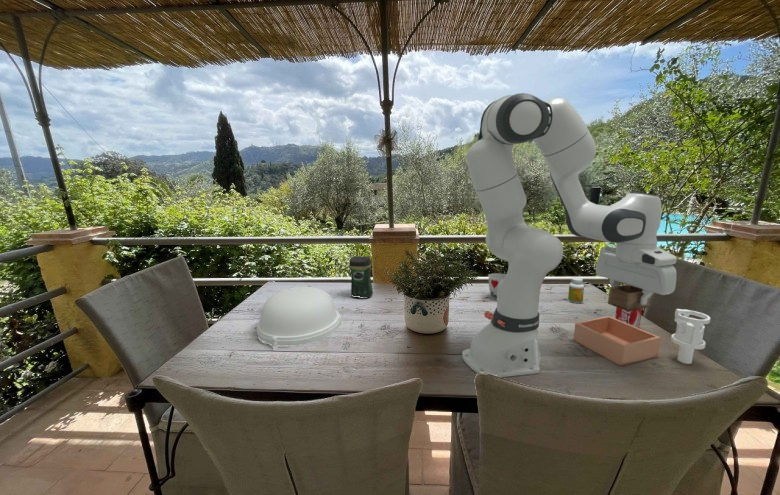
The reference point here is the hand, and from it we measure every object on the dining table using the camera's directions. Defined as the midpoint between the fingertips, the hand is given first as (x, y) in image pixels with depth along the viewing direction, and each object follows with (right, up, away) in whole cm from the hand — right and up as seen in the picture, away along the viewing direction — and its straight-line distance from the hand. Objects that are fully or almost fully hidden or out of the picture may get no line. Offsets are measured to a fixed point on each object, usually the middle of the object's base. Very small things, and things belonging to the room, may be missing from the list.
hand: (628, 299), depth 94 cm
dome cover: (-101, -15, +28) cm, 106 cm away
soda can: (+14, -13, +20) cm, 27 cm away
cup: (-21, -7, +49) cm, 54 cm away
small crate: (0, -2, 0) cm, 2 cm away
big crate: (0, -16, +6) cm, 17 cm away
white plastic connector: (+15, -17, -1) cm, 23 cm away
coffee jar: (-81, -8, +57) cm, 99 cm away
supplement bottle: (+9, -8, +43) cm, 45 cm away
